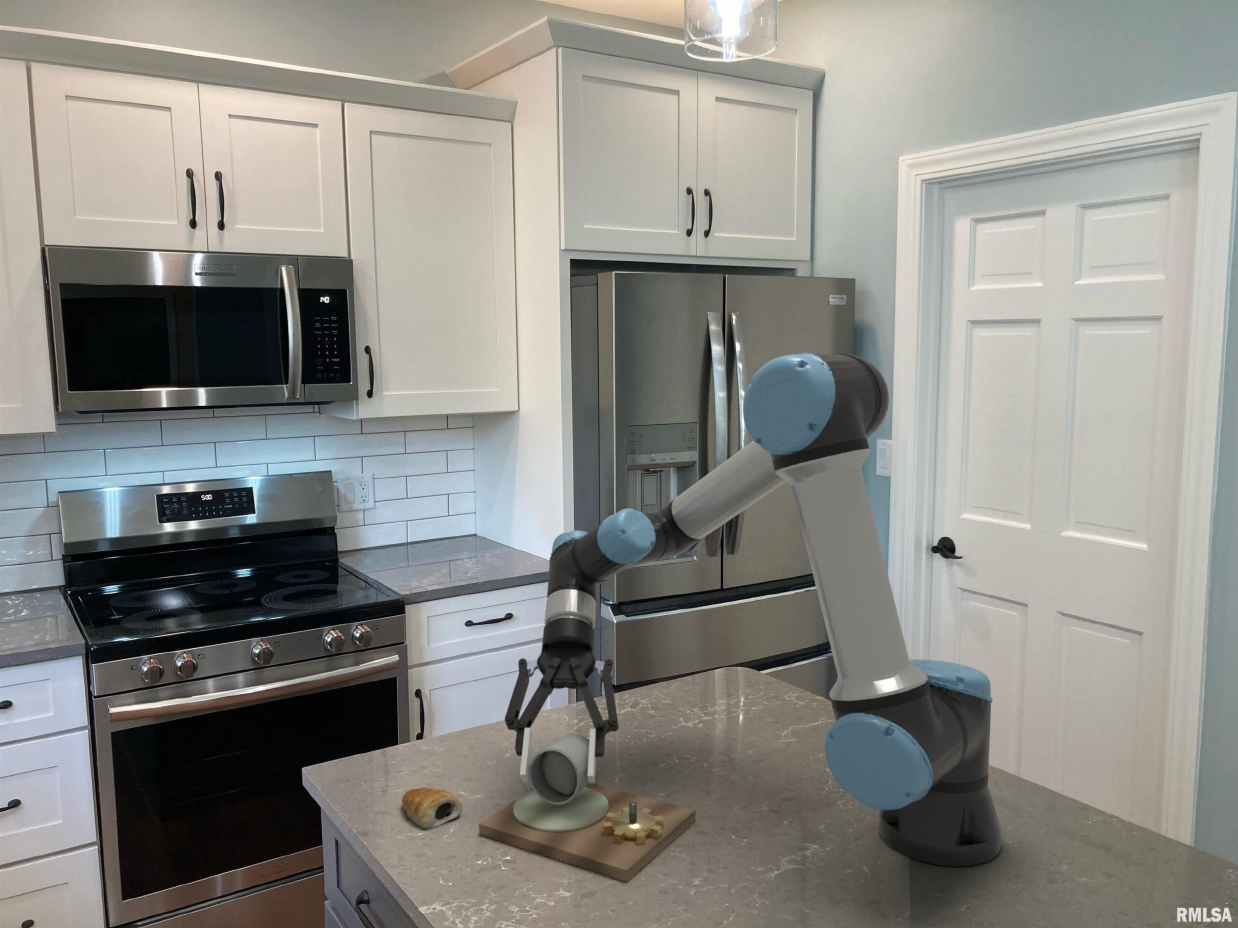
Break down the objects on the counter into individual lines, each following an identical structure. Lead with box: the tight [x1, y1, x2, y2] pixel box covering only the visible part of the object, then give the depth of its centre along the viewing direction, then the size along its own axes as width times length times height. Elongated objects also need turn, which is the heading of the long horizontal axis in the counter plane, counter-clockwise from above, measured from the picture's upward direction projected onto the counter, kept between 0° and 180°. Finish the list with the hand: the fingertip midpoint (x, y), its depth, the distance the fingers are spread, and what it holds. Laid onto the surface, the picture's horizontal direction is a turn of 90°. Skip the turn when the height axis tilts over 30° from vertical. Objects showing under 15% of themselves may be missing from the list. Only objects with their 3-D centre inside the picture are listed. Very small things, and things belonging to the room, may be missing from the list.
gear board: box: [478, 783, 696, 883], centre depth 128 cm, size 23×18×2 cm
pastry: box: [401, 786, 463, 830], centre depth 133 cm, size 9×7×4 cm
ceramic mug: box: [518, 734, 600, 805], centre depth 131 cm, size 11×8×8 cm
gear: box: [602, 802, 664, 845], centre depth 124 cm, size 8×8×4 cm
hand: (557, 778), depth 126 cm, fingers closed on ceramic mug, 8 cm apart
